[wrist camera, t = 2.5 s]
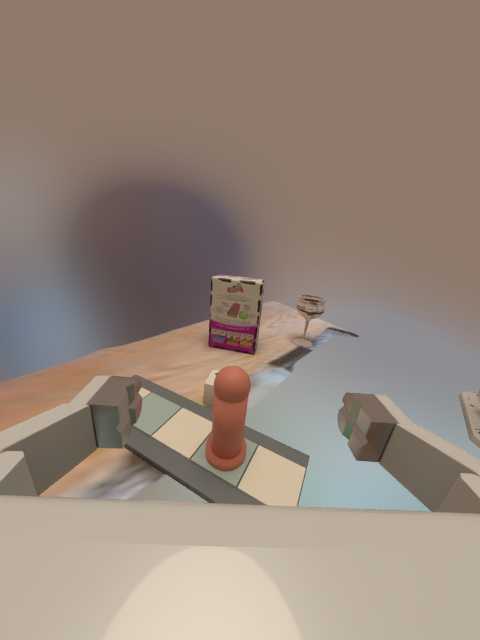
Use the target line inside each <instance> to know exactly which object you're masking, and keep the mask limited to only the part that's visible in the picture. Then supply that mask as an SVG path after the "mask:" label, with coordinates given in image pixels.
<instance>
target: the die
mask: <svg viewBox="0 0 480 640" xmlns="http://www.w3.org/2000/svg"><path fill="white" fill-rule="evenodd" d="M218 372H219V370H214V369H213V370H212V372H211V373H210V375H209V377H208V379H207V380H206V382H205V385H204V405H209V406H213V404H214V380H215V377H216V375H217V374H218Z"/></svg>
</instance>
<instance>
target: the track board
mask: <svg viewBox="0 0 480 640" xmlns="http://www.w3.org/2000/svg"><path fill="white" fill-rule="evenodd" d="M131 378H139V379H140V380H141V389H140V391H139V394H140V395H141V396H142V409H141V413H140V416H139V418H138V420H137V422H136V423H135V424H134V425H132V426H131V434H130V436H129V438H128V440H127V442H126V443H125V445H124V446H125V447H126V448H128V449H129V450H131V451H132V452H134V453H135V454H137V455H138V456H140V457H141V458H143V459H144V460H146V461H147V462H149V463H150V464H152V465H153V466H155V467H156V468H158V469H159V470H161V471H162V472H164V473H165V474H167V475H168V476H170V477H171V478H173V479H174V480H176V481H177V482H179V483H180V484H182V485H183V486H185V487H187V488H188V489H190V490H191V491H193V492H194V493H195V494H197V495H199V496H200V497H202V498H203V499H205V500H206V501H208V502H209V503H221V504H246V505H271V506H296V507H298V503H299V498H300V494H301V490H302V486H303V482H304V478H305V473H306V469H307V465H308V461H309V456H308V455H306V454H304V453H302V452H300V451H298V450H296V449H293V448H291V447H289V446H287V445H285V444H283V443H280V442H279V441H276V440H274V439H272V438H270V437H268V436H266V435H264V434H261V433H259V432H257V431H255V430H253V429H251V428H249V427H247V426H244V433H243V438H244V439H245V441H246V445H247V450H246V457H245V460H244V462H243V463H242V465H241V466H240V467H238V468H237V469H235V470H232V471H220V470H217V469H215V468H213V467H212V466H211V465H210V464H209V463H208V461H207V459H206V455H205V449H206V441H207V439H208V437H209V436H210V435H211V434H212V420H213V411H212V410H210V409H208V408H206V407H204V406H202V405H200V404H198V403H195V402H193V401H191V400H189V399H187V398H185V397H183V396H181V395H178V394H176V393H174V392H172V391H170V390H168V389H166V388H163V387H161V386H159V385H157V384H155V383H153V382H151V381H149V380H146V379H144V378H142V377H140V376H138V375H134V376H133V377H131Z"/></svg>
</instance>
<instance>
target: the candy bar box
mask: <svg viewBox="0 0 480 640" xmlns="http://www.w3.org/2000/svg"><path fill="white" fill-rule="evenodd" d="M264 285H265V280H260V279H253V278H244V277H236V276H227V275H219V274H218V275H216V276H214V277H212V278H211V301H210V324H209V346H211V347H216V348H222V349H228V350H233V351H239V352H245V353H251V354H254V353H255V350H256V347H257V343H258V334H259V327H260V318H261V310H262V301H263V293H264Z"/></svg>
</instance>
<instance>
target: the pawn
mask: <svg viewBox="0 0 480 640" xmlns="http://www.w3.org/2000/svg"><path fill="white" fill-rule="evenodd" d="M250 386H251V384H250V378H249V376H248V374H247V373H246V372H245V371H244V370H243V369H242V368H240V367H237V366H228V367H225V368H223V369H222V370H220V371H219V372H218V374H217V375H216V377H215V380H214V404H213V420H212V434H211V435H210V436H209V437H208V439H207V441H206V449H205V455H206V459H207V461H208V463H209V464H210V465H211V466H212V467H213V468H215V469H217V470H220V471H232V470H235V469H237V468H238V467H240V466H241V465H242V463H243V462H244V460H245V457H246V450H247V445H246V441H245V439H244V438H243V433H244V425H245V417H246V410H247V402H248V394H249V391H250Z"/></svg>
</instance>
